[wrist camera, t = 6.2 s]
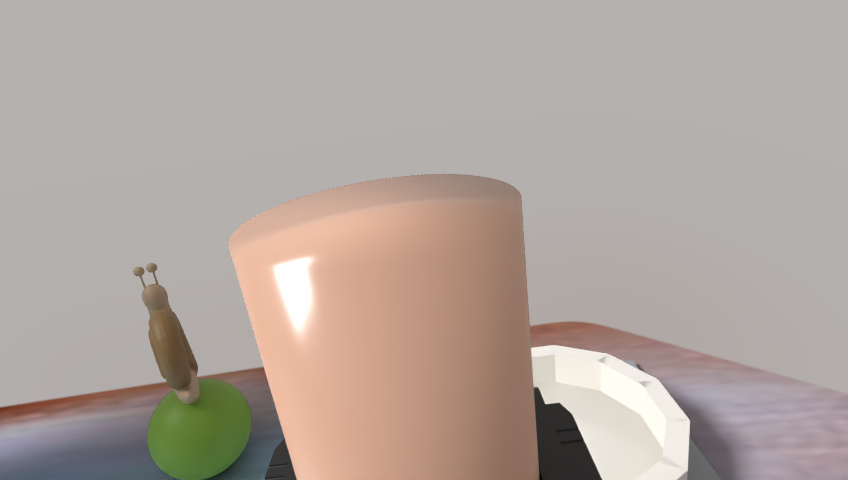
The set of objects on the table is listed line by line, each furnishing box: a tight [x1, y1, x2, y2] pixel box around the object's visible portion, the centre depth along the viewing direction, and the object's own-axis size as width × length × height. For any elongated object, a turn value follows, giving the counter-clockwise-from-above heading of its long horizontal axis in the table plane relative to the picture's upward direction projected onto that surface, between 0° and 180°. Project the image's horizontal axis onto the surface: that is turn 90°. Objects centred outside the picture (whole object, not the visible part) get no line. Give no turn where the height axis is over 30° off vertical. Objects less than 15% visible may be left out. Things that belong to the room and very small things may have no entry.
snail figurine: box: [133, 263, 252, 480], centre depth 27 cm, size 5×6×12 cm
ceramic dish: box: [531, 345, 690, 480], centre depth 25 cm, size 12×12×3 cm
